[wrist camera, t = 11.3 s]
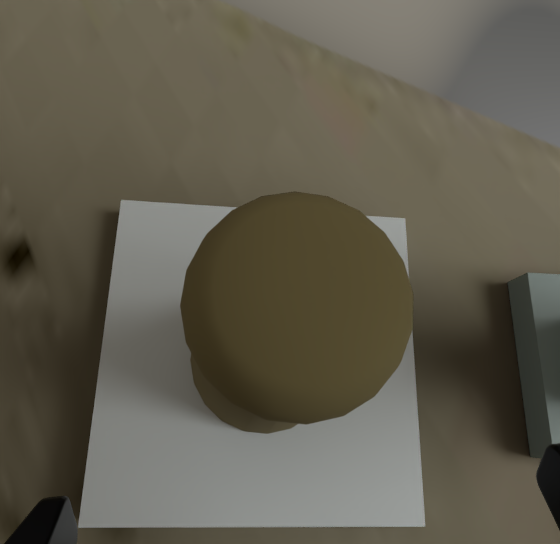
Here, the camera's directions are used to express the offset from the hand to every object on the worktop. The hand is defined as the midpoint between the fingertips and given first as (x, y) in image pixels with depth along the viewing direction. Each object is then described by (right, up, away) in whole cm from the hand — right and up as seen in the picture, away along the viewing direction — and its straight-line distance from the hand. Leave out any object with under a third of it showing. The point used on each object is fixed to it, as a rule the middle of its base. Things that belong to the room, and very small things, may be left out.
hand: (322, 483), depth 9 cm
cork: (-1, 0, +11) cm, 11 cm away
